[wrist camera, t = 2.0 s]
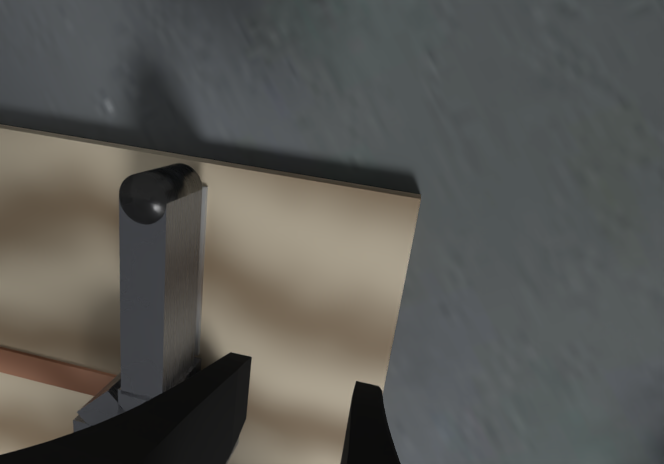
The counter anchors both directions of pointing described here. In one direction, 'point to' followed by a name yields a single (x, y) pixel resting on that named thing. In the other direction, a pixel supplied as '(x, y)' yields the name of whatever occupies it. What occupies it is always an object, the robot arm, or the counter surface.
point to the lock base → (213, 289)
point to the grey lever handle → (154, 290)
